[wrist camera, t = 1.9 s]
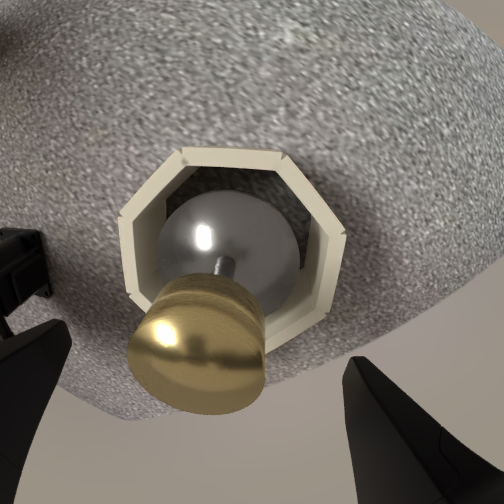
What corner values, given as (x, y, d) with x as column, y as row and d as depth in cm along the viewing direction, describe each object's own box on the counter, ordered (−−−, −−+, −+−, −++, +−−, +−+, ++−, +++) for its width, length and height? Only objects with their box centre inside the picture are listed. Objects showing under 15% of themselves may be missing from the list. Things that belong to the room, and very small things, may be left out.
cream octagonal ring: (163, 324, 21) (142, 368, 16) (155, 145, 16) (116, 149, 11) (301, 338, 21) (308, 386, 16) (331, 156, 16) (357, 162, 11)
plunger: (166, 308, 15) (111, 415, 8) (159, 185, 13) (54, 242, 6) (288, 320, 15) (298, 443, 8) (307, 195, 13) (359, 269, 5)
